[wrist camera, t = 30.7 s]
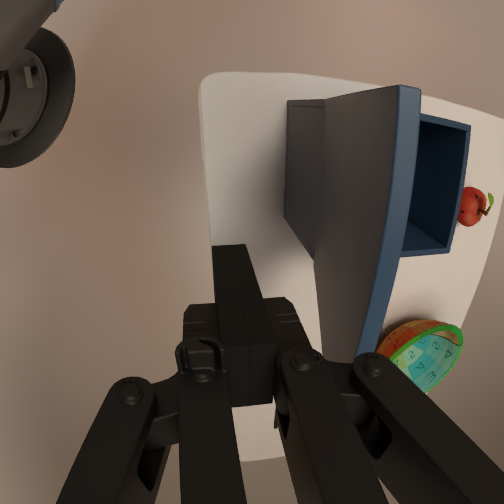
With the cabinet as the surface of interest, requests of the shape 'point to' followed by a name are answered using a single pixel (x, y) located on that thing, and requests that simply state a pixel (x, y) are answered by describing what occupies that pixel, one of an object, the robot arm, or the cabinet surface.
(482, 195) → the apple
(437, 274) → the cabinet surface
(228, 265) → the robot arm
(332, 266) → the lid
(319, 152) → the box
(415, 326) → the bowl
